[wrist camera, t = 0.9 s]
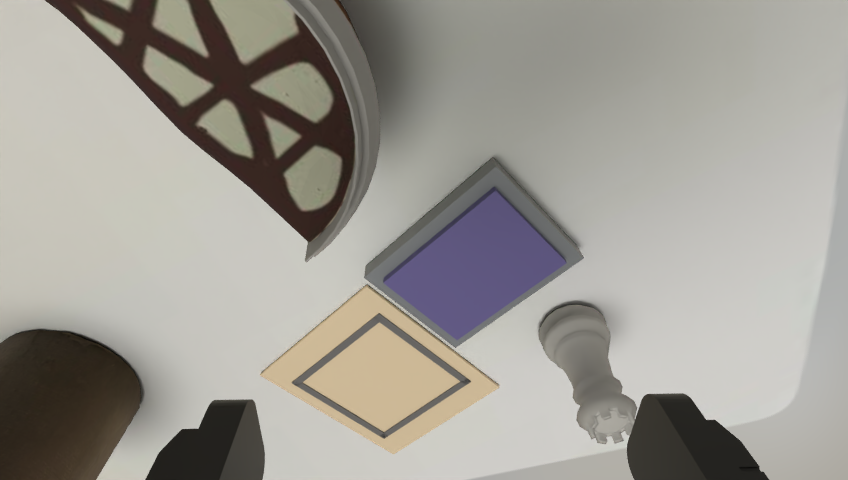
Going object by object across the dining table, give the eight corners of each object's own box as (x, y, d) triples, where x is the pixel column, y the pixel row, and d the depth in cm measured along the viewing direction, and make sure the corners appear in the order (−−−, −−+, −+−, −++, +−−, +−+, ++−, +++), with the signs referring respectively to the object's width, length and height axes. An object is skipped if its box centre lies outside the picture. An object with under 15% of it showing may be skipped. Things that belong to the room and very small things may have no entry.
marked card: (366, 284, 30) (366, 287, 30) (498, 385, 35) (499, 388, 35) (260, 373, 34) (259, 376, 34) (393, 452, 39) (393, 455, 39)
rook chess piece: (531, 309, 31) (565, 411, 25) (600, 293, 31) (654, 393, 24) (542, 356, 34) (575, 461, 27) (606, 342, 33) (657, 446, 26)
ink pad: (492, 157, 26) (497, 170, 24) (577, 246, 29) (586, 262, 27) (365, 266, 29) (363, 282, 28) (454, 334, 32) (456, 353, 31)
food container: (440, 90, 24) (457, 174, 15) (347, 162, 26) (317, 272, 17) (248, -166, 18) (111, -257, 10) (149, -52, 20) (-37, -46, 12)
